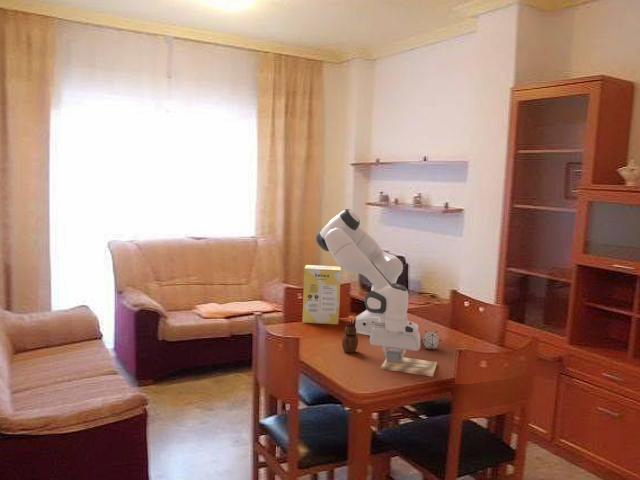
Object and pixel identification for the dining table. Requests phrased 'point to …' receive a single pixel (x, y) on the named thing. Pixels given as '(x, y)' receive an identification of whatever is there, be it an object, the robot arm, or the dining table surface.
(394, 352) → the sanding block
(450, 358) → the dining table surface
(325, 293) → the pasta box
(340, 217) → the robot arm
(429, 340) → the grey spiky ball
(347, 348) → the wooden figurine
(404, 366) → the board
